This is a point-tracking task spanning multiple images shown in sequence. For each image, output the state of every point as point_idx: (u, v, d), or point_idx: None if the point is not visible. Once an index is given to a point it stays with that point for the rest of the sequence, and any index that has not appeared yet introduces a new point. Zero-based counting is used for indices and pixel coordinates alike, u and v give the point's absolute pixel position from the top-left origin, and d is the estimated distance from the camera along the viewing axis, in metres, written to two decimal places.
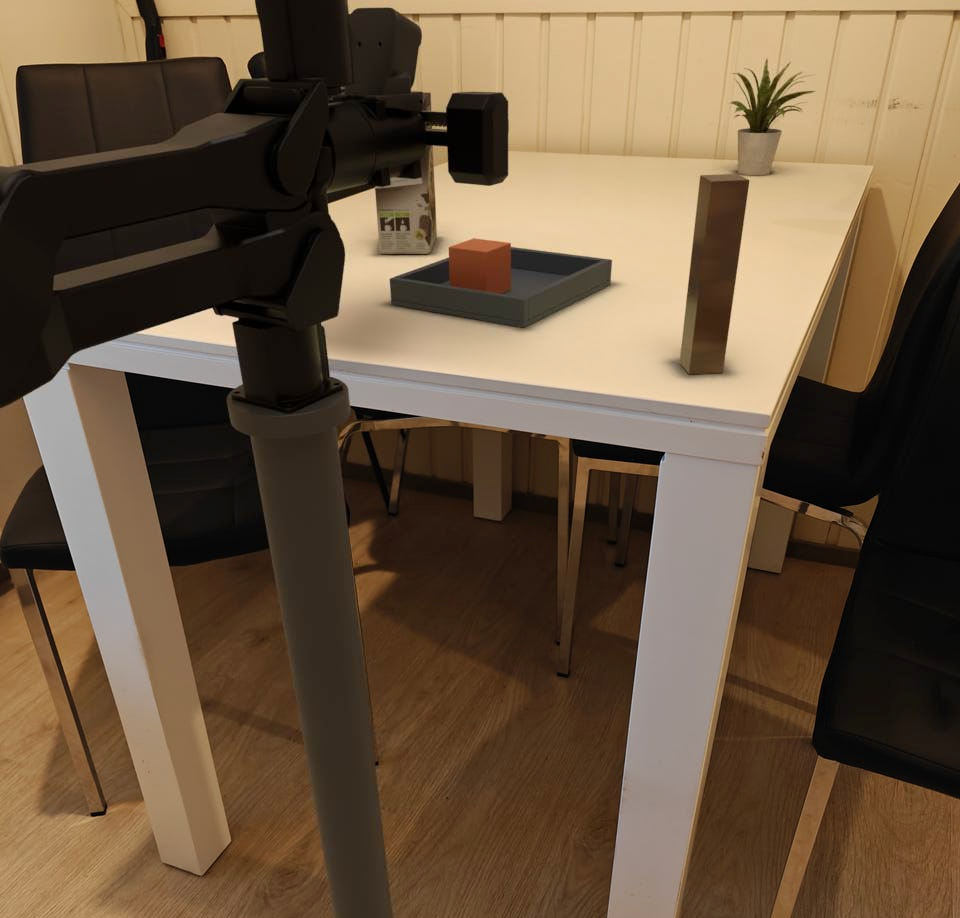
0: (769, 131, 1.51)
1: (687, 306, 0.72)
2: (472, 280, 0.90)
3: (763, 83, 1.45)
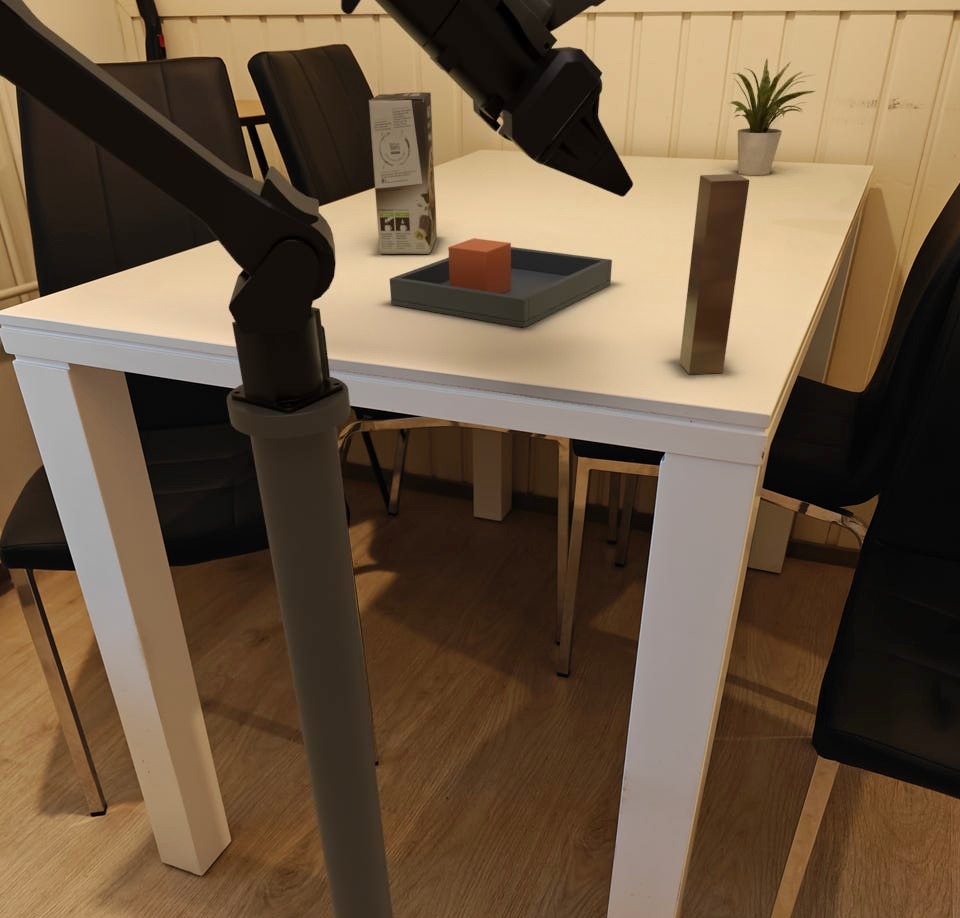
0: (769, 131, 1.51)
1: (687, 306, 0.72)
2: (472, 280, 0.90)
3: (763, 83, 1.45)
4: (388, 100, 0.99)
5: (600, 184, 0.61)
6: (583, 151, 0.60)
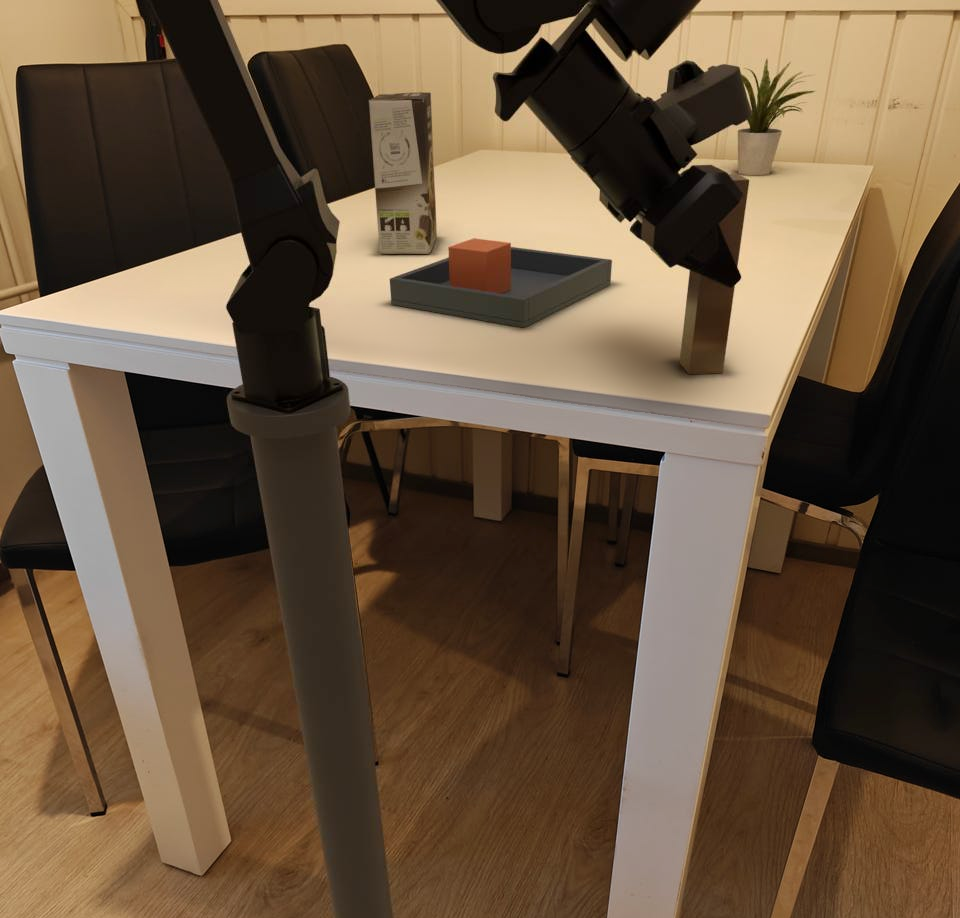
0: (769, 131, 1.51)
1: (687, 306, 0.72)
2: (472, 280, 0.90)
3: (763, 83, 1.45)
4: (388, 100, 0.99)
5: (712, 277, 0.68)
6: (700, 248, 0.66)
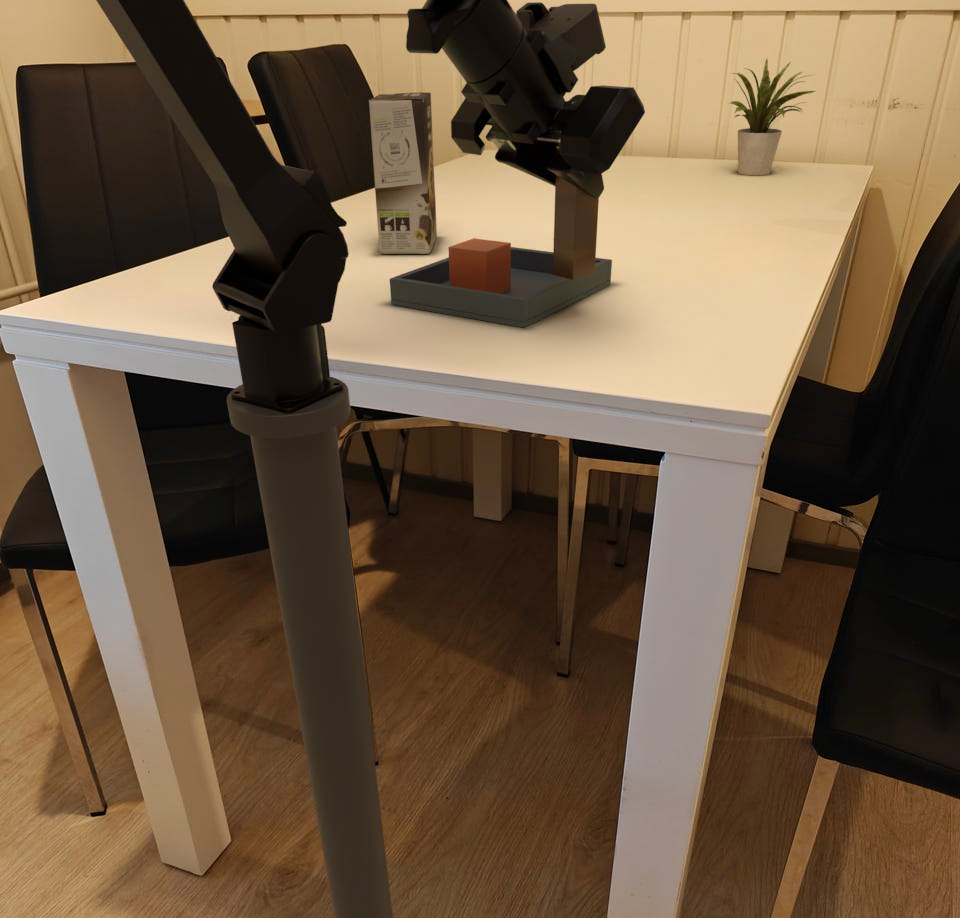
0: (769, 131, 1.51)
1: (557, 221, 0.82)
2: (472, 280, 0.90)
3: (763, 83, 1.45)
4: (388, 100, 0.99)
5: (588, 189, 0.79)
6: None
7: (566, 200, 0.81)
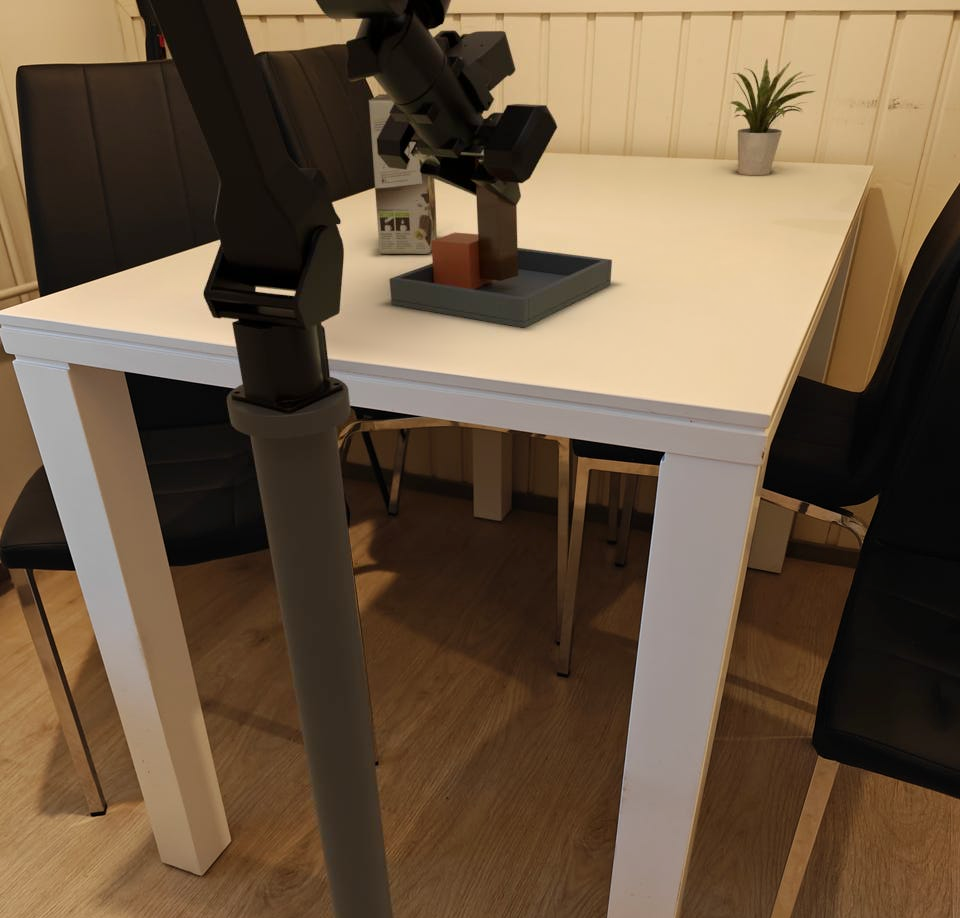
0: (769, 131, 1.51)
1: (481, 228, 0.90)
2: (455, 272, 0.92)
3: (763, 83, 1.45)
4: (388, 100, 0.99)
5: (508, 197, 0.87)
6: None
7: (488, 208, 0.88)
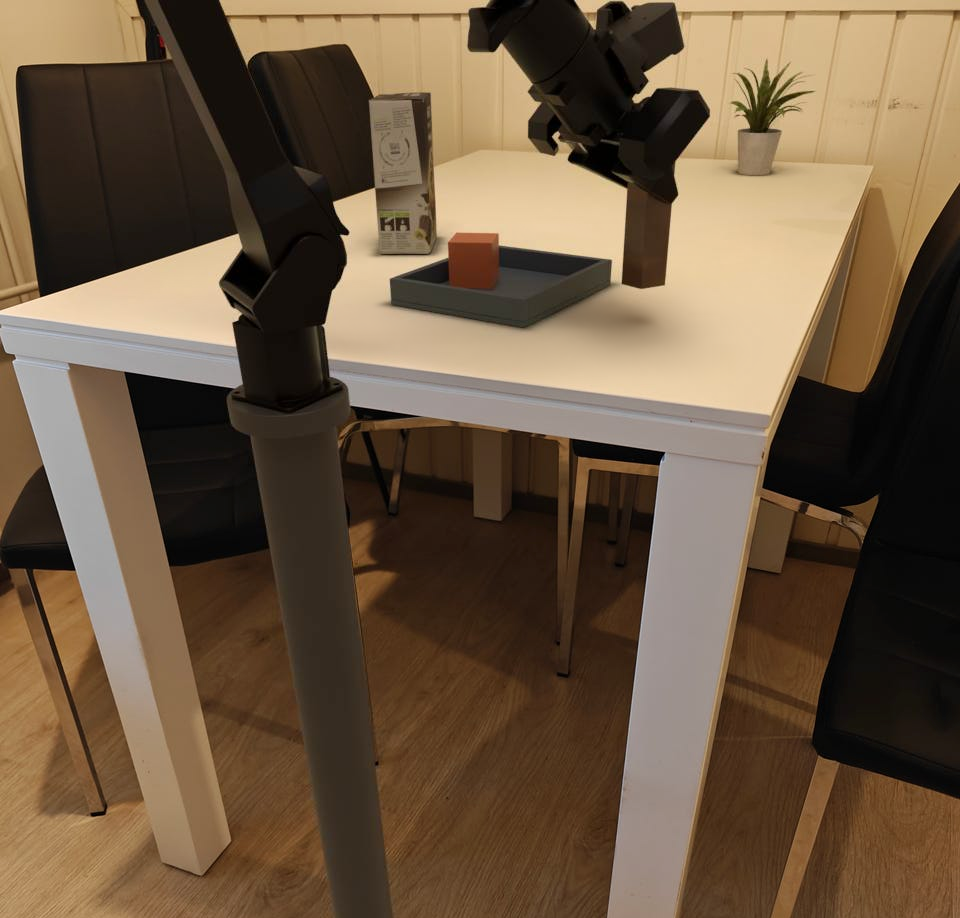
0: (769, 131, 1.51)
1: (628, 228, 0.80)
2: (475, 271, 0.92)
3: (763, 83, 1.45)
4: (388, 100, 0.99)
5: (659, 194, 0.76)
6: None
7: (637, 206, 0.78)
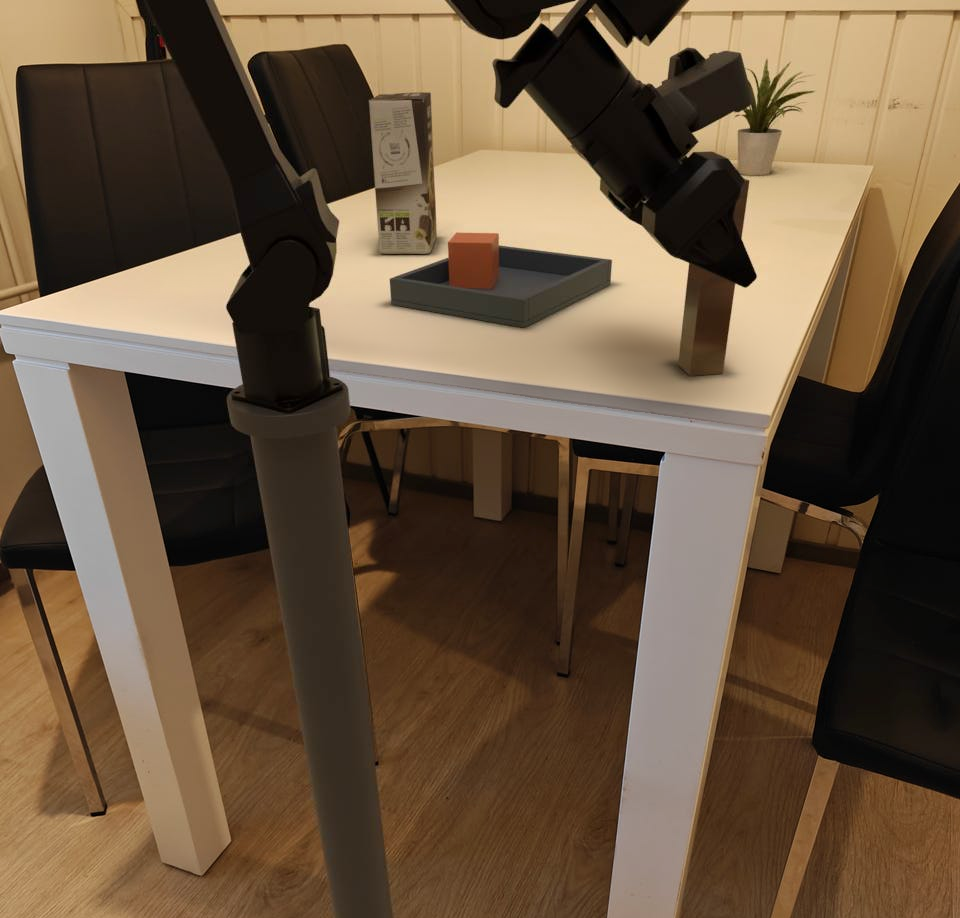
0: (769, 131, 1.51)
1: (686, 307, 0.71)
2: (475, 271, 0.92)
3: (763, 83, 1.45)
4: (388, 100, 0.99)
5: (726, 276, 0.65)
6: (714, 246, 0.63)
7: (693, 286, 0.70)
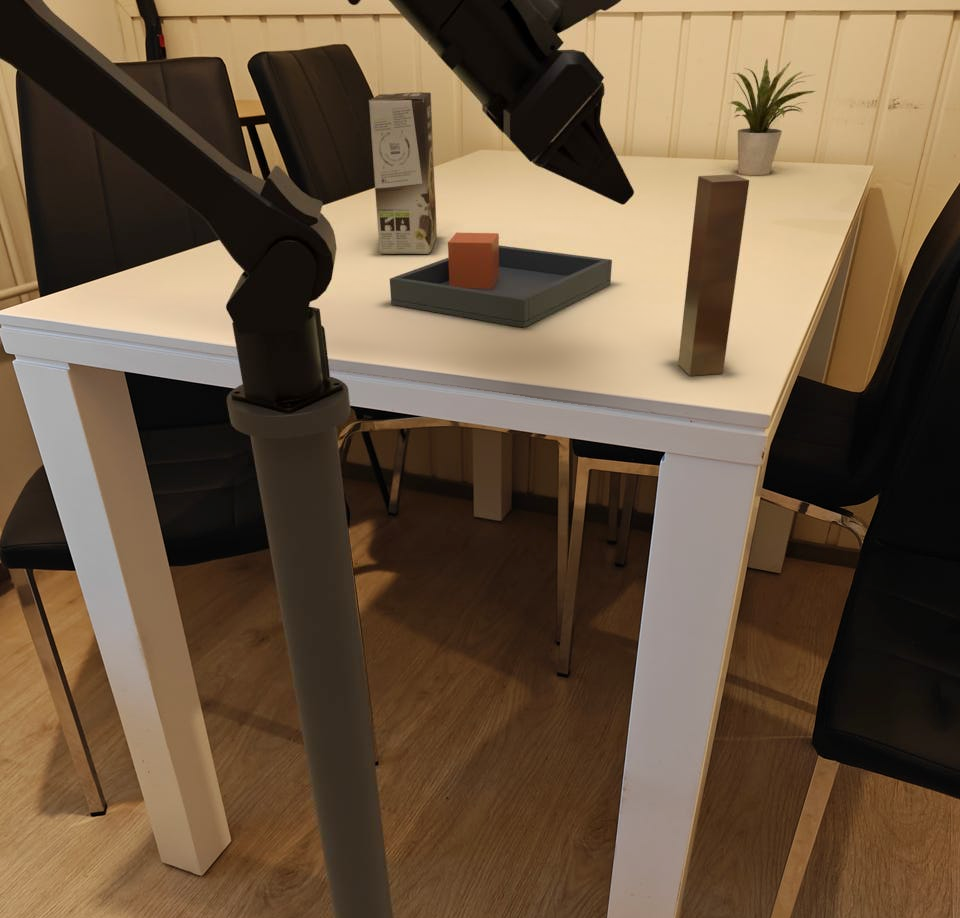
0: (769, 131, 1.51)
1: (686, 307, 0.71)
2: (475, 271, 0.92)
3: (763, 83, 1.45)
4: (388, 100, 0.99)
5: (600, 190, 0.61)
6: (584, 156, 0.59)
7: (693, 286, 0.70)
